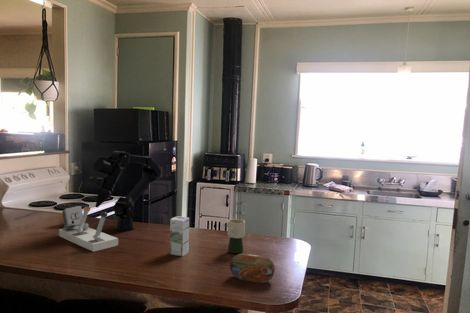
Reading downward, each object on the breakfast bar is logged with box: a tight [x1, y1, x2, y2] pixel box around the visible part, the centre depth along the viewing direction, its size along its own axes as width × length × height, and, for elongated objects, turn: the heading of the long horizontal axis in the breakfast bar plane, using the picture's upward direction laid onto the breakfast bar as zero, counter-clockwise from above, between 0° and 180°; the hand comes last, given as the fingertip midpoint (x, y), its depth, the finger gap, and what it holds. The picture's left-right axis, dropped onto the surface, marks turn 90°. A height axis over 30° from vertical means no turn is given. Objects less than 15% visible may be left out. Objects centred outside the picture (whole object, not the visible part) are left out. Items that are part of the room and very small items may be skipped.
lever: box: [93, 211, 108, 240], centre depth 144 cm, size 3×3×12 cm
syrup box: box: [169, 216, 190, 257], centre depth 139 cm, size 6×6×14 cm
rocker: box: [63, 224, 75, 229], centre depth 157 cm, size 3×4×1 cm
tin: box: [229, 252, 276, 284], centre depth 116 cm, size 15×3×8 cm, turn 69°
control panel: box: [58, 225, 119, 252], centre depth 152 cm, size 11×30×3 cm, turn 51°
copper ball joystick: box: [76, 205, 91, 233], centre depth 152 cm, size 3×3×12 cm
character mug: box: [227, 218, 246, 254], centre depth 142 cm, size 11×7×13 cm, turn 156°
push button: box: [83, 222, 89, 230], centre depth 158 cm, size 4×4×2 cm
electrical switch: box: [61, 205, 84, 226], centre depth 177 cm, size 9×5×9 cm, turn 152°
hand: (96, 207), depth 162 cm, fingers closed
